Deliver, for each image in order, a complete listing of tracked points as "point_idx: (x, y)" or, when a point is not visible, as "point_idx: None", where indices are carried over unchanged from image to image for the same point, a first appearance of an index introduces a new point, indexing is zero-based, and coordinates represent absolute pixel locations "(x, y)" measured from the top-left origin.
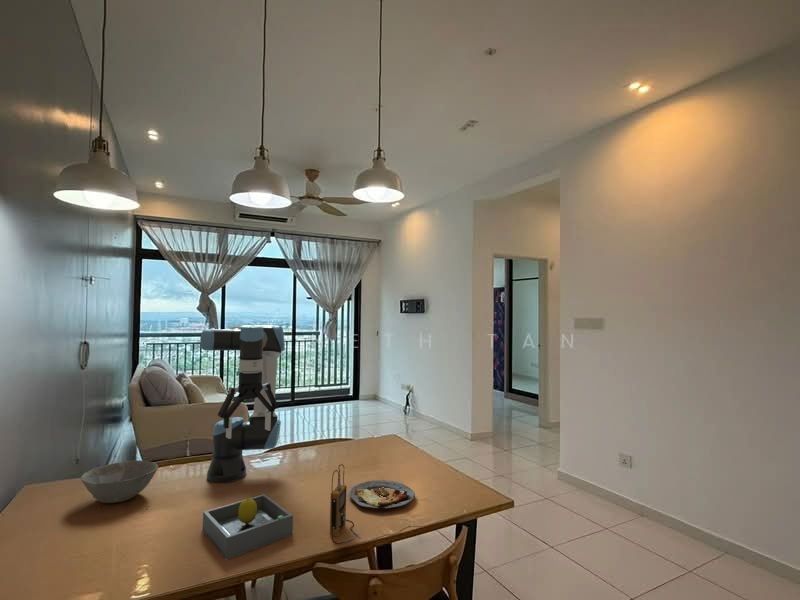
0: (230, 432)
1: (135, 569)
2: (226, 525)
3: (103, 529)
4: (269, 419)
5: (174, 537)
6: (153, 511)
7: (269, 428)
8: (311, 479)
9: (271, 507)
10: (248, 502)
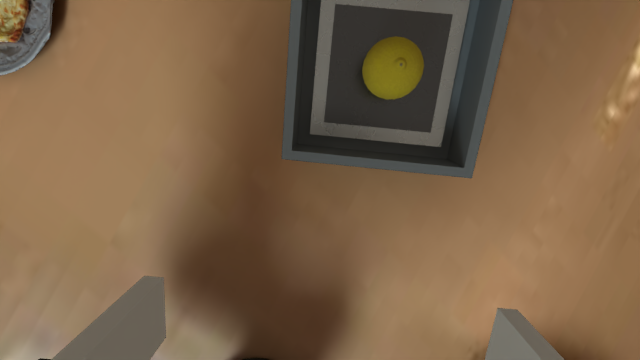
0: (544, 349)
1: (634, 110)
2: (426, 110)
3: (581, 328)
4: (71, 357)
5: (506, 186)
6: (472, 336)
7: (141, 287)
8: (91, 230)
9: (298, 87)
10: (406, 49)
